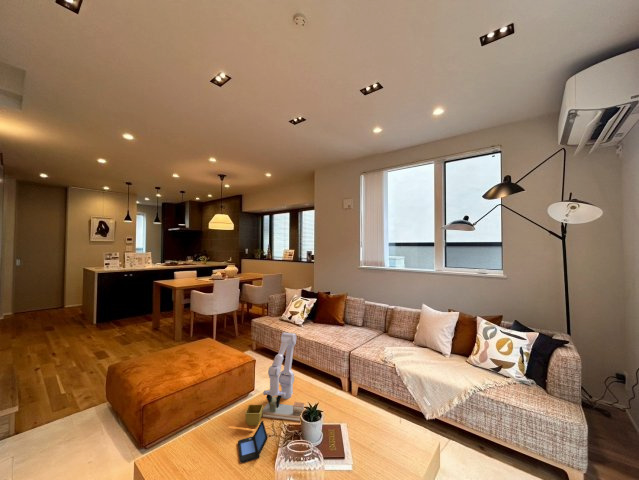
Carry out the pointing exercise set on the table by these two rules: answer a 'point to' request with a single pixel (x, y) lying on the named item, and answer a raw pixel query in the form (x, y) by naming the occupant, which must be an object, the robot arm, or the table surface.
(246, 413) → the flower pot
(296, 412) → the terracotta tin
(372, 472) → the table surface
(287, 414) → the shelf
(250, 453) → the handheld game console
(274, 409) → the sage tin
